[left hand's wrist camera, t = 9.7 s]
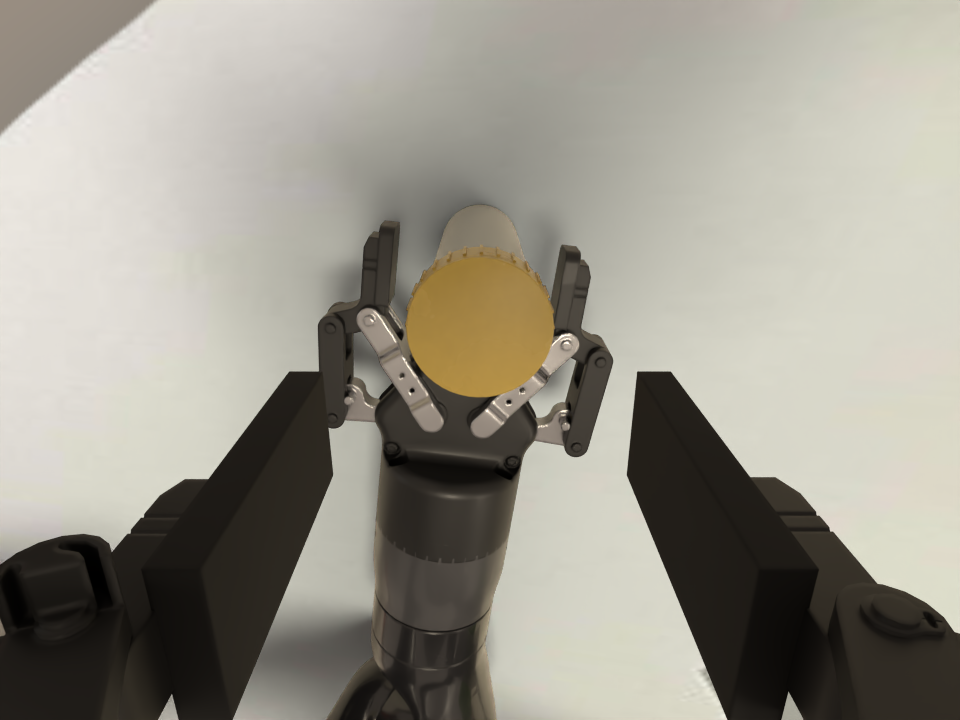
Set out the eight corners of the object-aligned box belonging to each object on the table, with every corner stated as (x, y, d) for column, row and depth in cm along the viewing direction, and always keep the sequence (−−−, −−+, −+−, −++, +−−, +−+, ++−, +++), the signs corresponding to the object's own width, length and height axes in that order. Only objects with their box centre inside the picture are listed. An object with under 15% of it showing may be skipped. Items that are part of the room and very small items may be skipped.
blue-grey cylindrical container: (446, 283, 36) (425, 388, 22) (438, 208, 34) (409, 270, 20) (520, 276, 36) (546, 378, 22) (514, 200, 34) (539, 258, 20)
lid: (419, 384, 23) (414, 405, 22) (400, 251, 22) (393, 262, 20) (553, 372, 23) (559, 393, 22) (546, 237, 21) (552, 248, 20)
